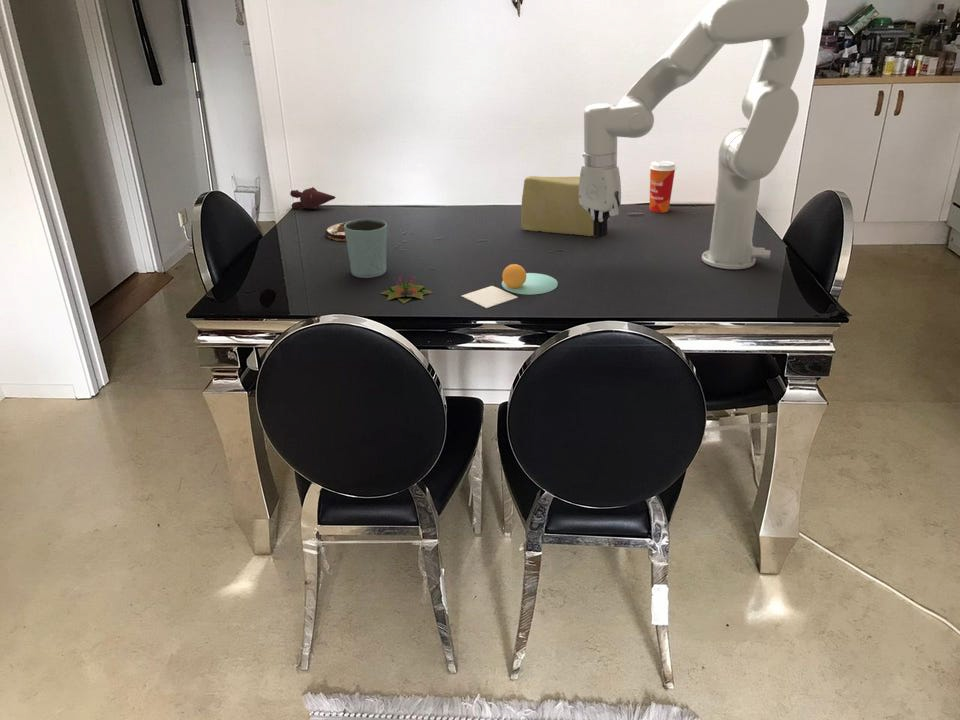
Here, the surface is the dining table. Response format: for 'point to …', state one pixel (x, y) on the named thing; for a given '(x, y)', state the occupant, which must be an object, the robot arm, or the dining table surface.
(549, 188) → the cheese
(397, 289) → the lily flower
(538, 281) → the disc
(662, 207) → the paper cup
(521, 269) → the ball
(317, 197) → the icecream
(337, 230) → the golden round pastry
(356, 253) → the green ceramic cup
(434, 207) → the dining table surface
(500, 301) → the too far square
